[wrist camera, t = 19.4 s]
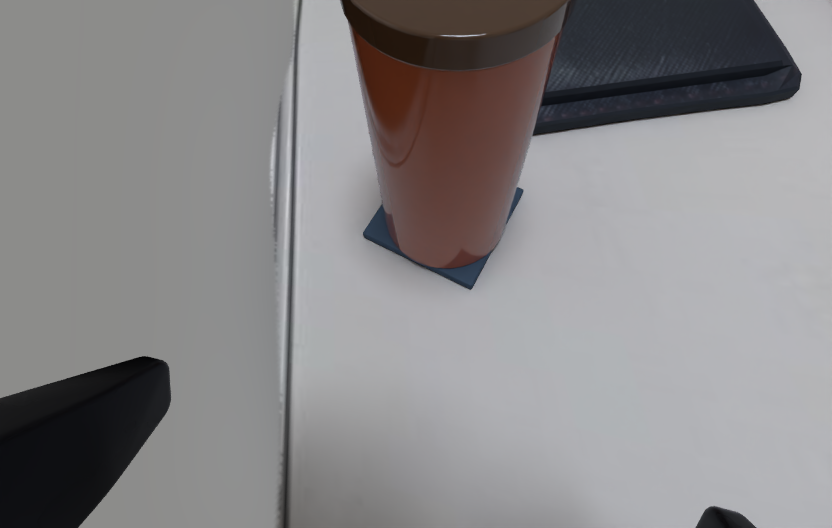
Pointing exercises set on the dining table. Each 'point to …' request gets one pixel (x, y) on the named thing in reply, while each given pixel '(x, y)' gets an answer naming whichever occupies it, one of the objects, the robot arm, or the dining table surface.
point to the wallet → (663, 61)
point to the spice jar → (452, 113)
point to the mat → (459, 275)
